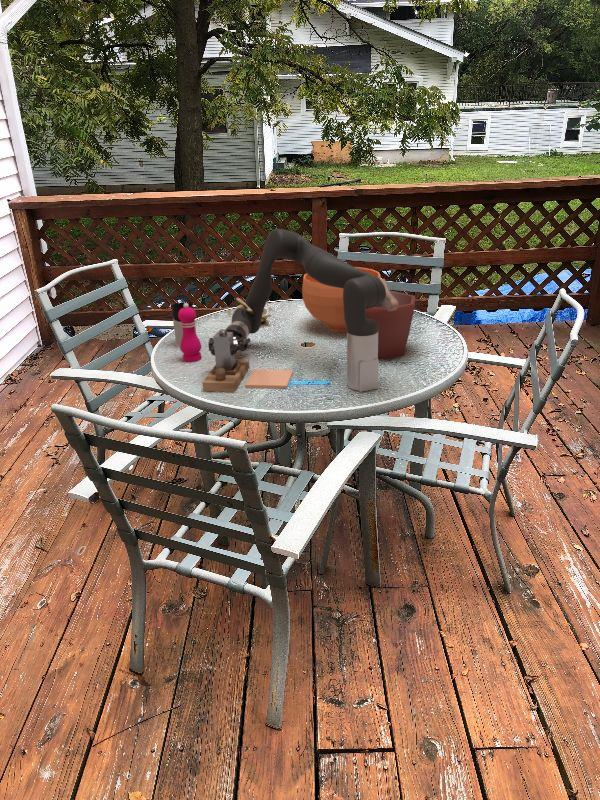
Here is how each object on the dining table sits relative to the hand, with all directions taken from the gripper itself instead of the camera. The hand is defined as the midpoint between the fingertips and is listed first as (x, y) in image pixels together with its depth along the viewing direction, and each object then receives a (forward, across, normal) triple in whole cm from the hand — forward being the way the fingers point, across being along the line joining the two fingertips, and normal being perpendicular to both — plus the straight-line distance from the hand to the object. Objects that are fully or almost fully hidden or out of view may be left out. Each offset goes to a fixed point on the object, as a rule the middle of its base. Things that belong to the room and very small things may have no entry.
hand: (222, 352), depth 195 cm
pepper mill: (-20, -17, +10) cm, 29 cm away
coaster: (-2, +14, +10) cm, 17 cm away
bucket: (-30, +48, +10) cm, 57 cm away
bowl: (-57, +32, +10) cm, 66 cm away
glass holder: (-33, -22, +10) cm, 42 cm away
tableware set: (-69, -6, +11) cm, 70 cm away
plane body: (-3, 0, +10) cm, 10 cm away
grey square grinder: (-3, 0, +7) cm, 7 cm away
